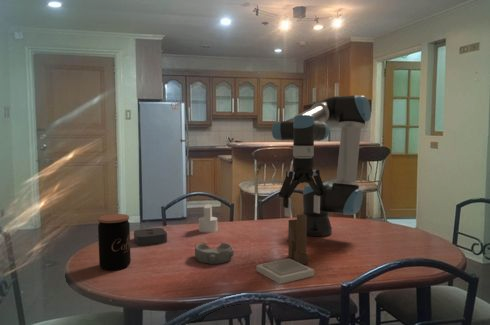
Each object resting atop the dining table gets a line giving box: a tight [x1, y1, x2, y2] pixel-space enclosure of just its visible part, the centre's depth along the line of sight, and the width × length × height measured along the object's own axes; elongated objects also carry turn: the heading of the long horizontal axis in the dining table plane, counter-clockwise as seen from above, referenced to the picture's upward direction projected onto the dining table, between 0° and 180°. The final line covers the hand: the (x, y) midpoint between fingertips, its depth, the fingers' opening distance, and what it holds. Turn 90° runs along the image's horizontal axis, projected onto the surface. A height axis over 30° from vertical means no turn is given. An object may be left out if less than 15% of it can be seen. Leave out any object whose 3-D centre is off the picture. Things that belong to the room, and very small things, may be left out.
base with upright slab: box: [198, 204, 219, 233], centre depth 195 cm, size 9×9×12 cm
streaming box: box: [133, 227, 168, 247], centre depth 177 cm, size 13×13×4 cm
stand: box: [256, 257, 315, 285], centre depth 138 cm, size 14×14×2 cm
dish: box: [194, 242, 235, 265], centre depth 153 cm, size 14×14×5 cm
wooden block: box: [287, 213, 309, 265], centre depth 151 cm, size 4×11×18 cm, turn 15°
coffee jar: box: [97, 213, 132, 272], centre depth 145 cm, size 11×11×18 cm
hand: (302, 214), depth 151 cm, fingers open, 13 cm apart
